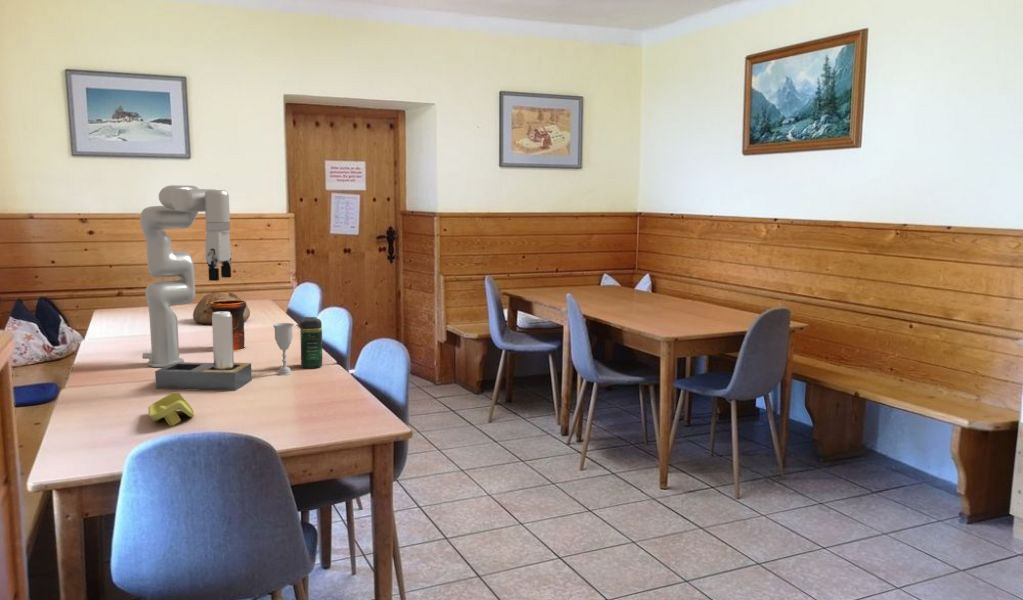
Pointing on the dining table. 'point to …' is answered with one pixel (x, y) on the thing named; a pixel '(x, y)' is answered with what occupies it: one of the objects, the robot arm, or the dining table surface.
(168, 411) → the plastic component
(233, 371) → the dock
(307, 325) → the coffee jar
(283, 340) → the chalice
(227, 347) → the silver long cylinder
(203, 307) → the bread
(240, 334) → the vessel
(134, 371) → the dining table surface
